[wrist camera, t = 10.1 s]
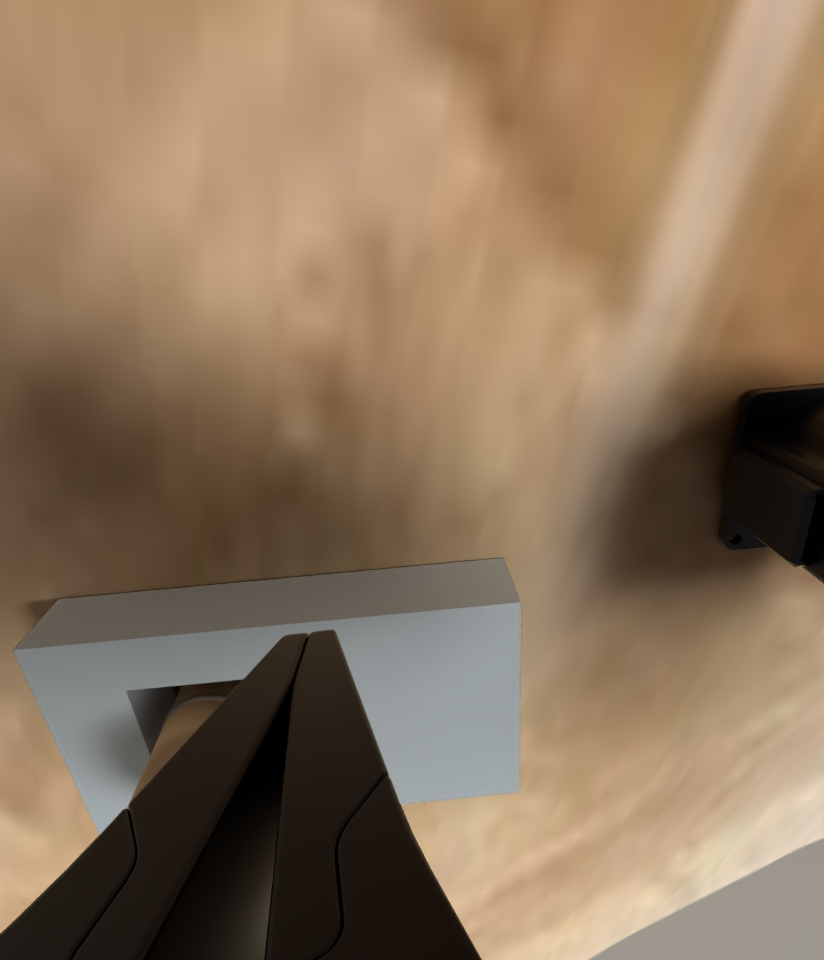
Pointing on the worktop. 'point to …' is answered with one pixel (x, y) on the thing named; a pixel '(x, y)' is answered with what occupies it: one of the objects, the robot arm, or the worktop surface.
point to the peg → (184, 722)
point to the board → (252, 634)
